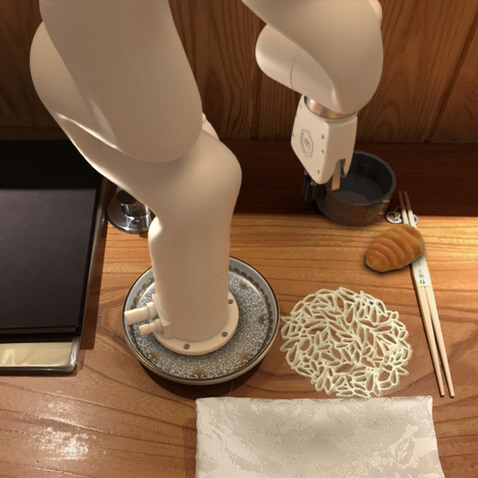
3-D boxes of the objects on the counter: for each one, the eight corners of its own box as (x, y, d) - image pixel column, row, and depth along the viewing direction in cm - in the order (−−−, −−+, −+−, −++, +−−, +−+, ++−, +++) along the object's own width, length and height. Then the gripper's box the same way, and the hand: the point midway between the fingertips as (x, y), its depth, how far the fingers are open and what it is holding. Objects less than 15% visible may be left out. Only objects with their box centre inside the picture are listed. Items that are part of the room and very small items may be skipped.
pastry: (385, 284, 84) (391, 269, 81) (353, 256, 87) (358, 240, 84) (426, 255, 88) (434, 238, 84) (394, 229, 90) (401, 212, 87)
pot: (335, 235, 89) (341, 213, 85) (302, 183, 95) (306, 160, 91) (401, 214, 92) (410, 192, 88) (365, 166, 98) (372, 143, 94)
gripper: (283, 68, 77) (271, 171, 92) (334, 137, 69) (312, 236, 85) (332, 58, 78) (312, 160, 94) (386, 124, 71) (355, 223, 86)
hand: (312, 196), depth 89 cm, fingers closed
